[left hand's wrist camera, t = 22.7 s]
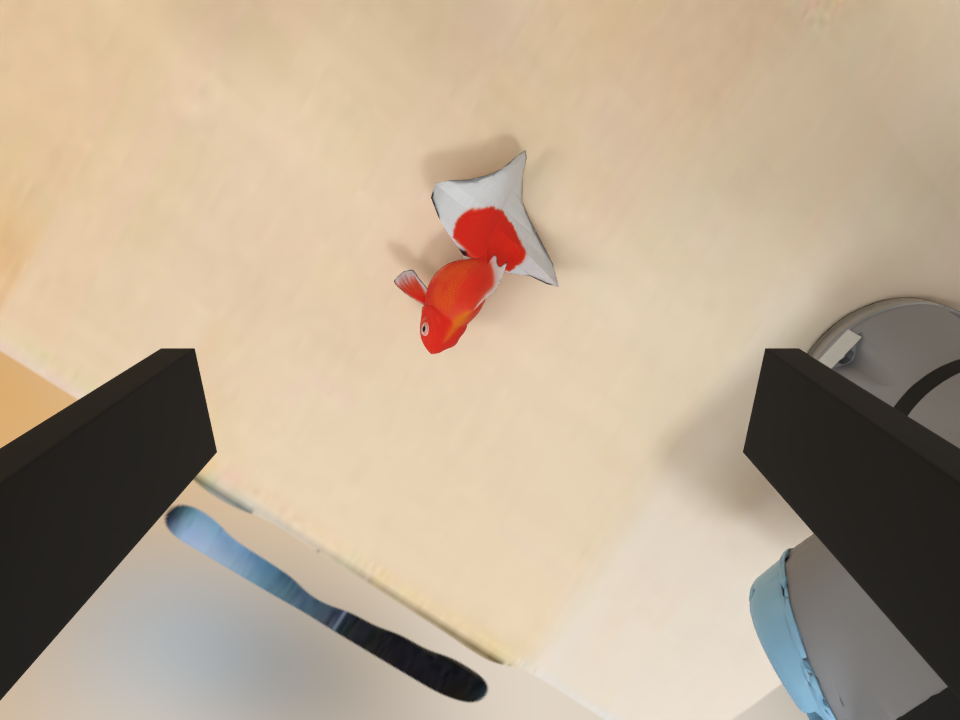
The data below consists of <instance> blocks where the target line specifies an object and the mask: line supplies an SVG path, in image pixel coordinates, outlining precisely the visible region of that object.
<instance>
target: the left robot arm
mask: <svg viewBox="0 0 960 720" xmlns="http://www.w3.org/2000/svg"><path fill="white" fill-rule="evenodd" d="M216 453H217V450H216V446H215V441H214V436H213V432H212V427H211V422H210V418H209V413H208V408H207V404H206V399H205V395H204V390H203V385H202V381H201V376H200V371H199V367H198V362H197V357H196V353H195V349H160V350H158V351H157V352H155V353H153V354H152V355H150V356H148V357H147V358H145V359H144V360H142V361H140V362H139V363H137V364H136V365H134V366H132V367H131V368H129V369H128V370H126V371H124V372H123V373H121V374H119V375H118V376H116V377H115V378H113V379H111V380H110V381H108V382H107V383H105V384H103V385H102V386H100V387H99V388H97V389H95V390H94V391H92V392H91V393H89V394H87V395H86V396H84V397H82V398H81V399H79V400H78V401H76V402H74V403H73V404H71V405H70V406H68V407H66V408H65V409H63V410H62V411H60V412H58V413H57V414H55V415H53V416H52V417H50V418H49V419H47V420H45V421H44V422H42V423H41V424H39V425H38V426H36V427H34V428H33V429H31V430H29V431H28V432H26V433H25V434H23V435H21V436H20V437H18V438H16V439H15V440H13V441H12V442H10V443H8V444H7V445H5V446H4V447H2V448H0V700H1V699H2V698H3V697H4V696H5V694H6V693H7V692H8V691H9V690H10V689H11V688H12V686H13V685H14V684H15V683H16V682H17V681H18V679H19V678H20V677H21V676H22V675H23V674H24V673H25V671H26V670H27V669H28V668H29V667H30V666H31V665H32V663H33V662H34V661H35V660H36V659H37V658H38V657H39V655H40V654H41V653H42V652H43V651H44V650H45V649H46V647H47V646H48V645H49V644H50V643H51V642H52V641H53V639H54V638H55V637H56V636H57V635H58V634H59V632H60V631H61V630H62V629H63V628H64V627H65V626H66V624H67V623H68V622H69V621H70V620H71V619H72V618H73V616H74V615H75V614H76V613H77V612H78V611H79V610H80V608H81V607H82V606H83V605H84V604H85V603H86V602H87V600H88V599H89V598H90V597H91V596H92V595H93V593H94V592H95V591H96V590H97V589H98V588H99V587H100V585H101V584H102V583H103V582H104V581H105V580H106V579H107V577H108V576H109V575H110V574H111V573H112V572H113V571H114V569H115V568H116V567H117V566H118V565H119V564H120V563H121V561H122V560H123V559H124V558H125V557H126V556H127V555H128V553H129V552H130V551H131V550H132V549H133V548H134V546H135V545H136V544H137V543H138V542H139V541H140V540H141V538H142V537H143V536H144V535H145V534H146V533H147V532H148V530H149V529H150V528H151V527H152V526H153V525H154V524H155V522H156V521H157V520H158V519H159V518H160V517H161V516H162V514H163V513H164V512H165V511H166V510H167V509H168V508H169V506H170V505H171V504H172V503H173V502H174V501H175V500H176V498H177V497H178V496H179V495H180V494H181V493H182V491H183V490H184V489H185V488H186V487H187V486H188V485H189V483H190V482H191V481H192V480H193V479H194V478H195V477H196V475H197V474H198V473H199V472H200V471H201V470H202V469H203V467H204V466H205V465H206V464H207V463H208V462H209V461H210V459H211V458H212V457H213V456H214V455H215V454H216ZM743 453H744V454H745V455H746V456H747V457H748V458H749V459H750V461H751V462H752V463H753V464H754V465H755V466H756V467H757V469H758V470H759V471H760V472H761V473H762V474H763V475H764V477H765V478H766V479H767V480H768V481H769V482H770V483H771V485H772V486H773V487H774V488H775V489H776V490H777V492H778V493H779V494H780V495H781V496H782V497H783V498H784V500H785V501H786V502H787V503H788V504H789V505H790V506H791V508H792V509H793V510H794V511H795V512H796V513H797V514H798V516H799V517H800V518H801V519H802V520H803V521H804V522H805V524H806V525H807V526H808V527H809V528H810V529H811V530H812V532H813V533H814V534H813V535H811V536H810V537H809V538H807V539H806V540H804V541H803V542H802V543H800V544H799V545H797V546H796V547H795V548H792V549H788V550H786V551H785V552H784V553H783V554H782V556H781V558H780V560H779V561H778V562H776V563H775V564H774V565H773V566H771V567H770V568H769V569H768V570H766V571H765V572H764V573H763V574H762V575H760V576H759V577H758V578H757V579H756V580H755V581H754V583H753V585H752V587H751V589H750V596H749V602H750V613H751V617H752V621H753V624H754V627H755V630H756V632H757V635H758V637H759V640H760V642H761V644H762V647H763V649H764V651H765V653H766V655H767V657H768V659H769V661H770V663H771V664H772V666H773V668H774V670H775V672H776V673H777V675H778V677H779V678H780V680H781V682H782V684H783V685H784V687H785V689H786V690H787V692H788V693H789V695H790V696H791V698H792V699H793V701H794V702H795V704H796V705H797V707H798V708H799V709H800V710H801V711H802V712H804V713H806V714H807V716H808V718H809V720H960V312H959V311H957V310H954V309H952V308H949V307H946V306H943V305H940V304H937V303H934V302H931V301H928V300H923V299H917V298H897V299H890V300H885V301H881V302H877V303H874V304H871V305H868V306H866V307H863V308H861V309H859V310H857V311H855V312H853V313H851V314H849V315H848V316H846V317H845V318H843V319H842V320H840V321H839V322H837V323H836V324H835V325H834V326H832V327H831V328H830V329H829V330H828V331H827V332H826V333H824V335H823V336H822V337H821V338H820V339H819V340H818V341H817V342H816V344H815V345H814V346H813V347H812V349H811V350H810V352H809V353H808V354H807V353H805V352H803V351H802V350H800V349H765V353H764V357H763V362H762V367H761V371H760V376H759V381H758V385H757V390H756V395H755V399H754V404H753V408H752V413H751V418H750V422H749V427H748V432H747V436H746V441H745V446H744V450H743Z"/></svg>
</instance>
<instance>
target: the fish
mask: <svg viewBox="0 0 960 720" xmlns="http://www.w3.org/2000/svg"><path fill="white" fill-rule="evenodd" d="M526 158H527V157H526V151H523V152H522V153H520V154H519V155H518V156H517V157H516V158H514V159H513V160H512V161H511V162H509V163H508V164H507V165H506V166H505V167H504V168H503V169H501V170H498V171H496V172H494V173H492V174H489V175H487V176H482V177H478V178H474V179H469V180H449V181H445V182H440V183H436V184H435V186H434V190H433V193H432V197H431V199H432V201H433V204H434V206H435V209H436V212H437V214H438V217H439V219H440V221H441V222H442V224H443V226H444V228H445V230H446V231H447V233H448V234H449V236H450V237H451V239H452V240H453V241H454V243H455V244H456V245H457V247H458V248H459V250H460V251H461V252H462V254H463V260H458V261H454V262H451V263H449V264H447V265H445V266H444V267H442V268H441V269H440V270H439V271H437V273H436V274H435V275H434V276H433V278H432V280H431V281H430V283H429V286H428V288H426V286H425V285H424V284H423V283H422V282H421V280H420V279H419V278H418V276H417V275H416V273H415V272H414V271H413V270H408V271H404V272H402V273H401V274H400V275H399V276H398V277H397V278H396V279H395V280H394V282H395V284H396V285H397V287H399V288H400V289H401V290H402V291H403V292H404V293H406V294H407V295H408V296H410V297H412V298H413V299H415V300H417V301H418V302H420V303H422V304H423V305H424V306H423V307H422V316H421V323H420V334H421V339H422V341H423V344H424V345H425V347H426V349H427V350H428V351H429V352H430V353H431V354H436V353H440V352H442V351H443V350H445V349H448V348H451V347H453V346H455V345H456V344H457V342H458V340H459V338H460V337H461V336H462V334H463V333H464V332H465V330H466V327H467V324H468V323H469V322H470V321H471V320H472V319H473V318H474V317H475V316H476V315H477V314H478V312H479V311H480V309H481V307H482V306H483V304H484V302H485V299H486V298H487V297H488V296H489V295H490V294H491V293H493V292H494V291H495V290H496V288H497V286H498V284H499V282H500V280H501V278H502V275H503V273H513V274H518V275H528V276H531V277H533V278H535V279H538V280H540V281H542V282H544V283H546V284H549V285H553V286H557V287H559V286H558V282H557V278H556V274H555V270H554V266H553V263H552V261H551V259H550V257H549V256H548V254H547V252H546V250H545V248H544V246H543V244H542V242H541V240H540V238H539V236H538V234H537V232H536V231H535V229H534V227H533V225H532V223H531V221H530V219H529V217H528V215H527V212H526V210H525V208H524V205H523V203H522V184H523V173H524V168H525V164H526Z"/></svg>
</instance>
